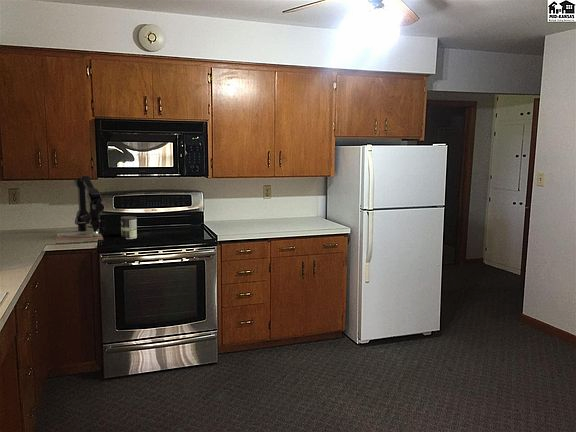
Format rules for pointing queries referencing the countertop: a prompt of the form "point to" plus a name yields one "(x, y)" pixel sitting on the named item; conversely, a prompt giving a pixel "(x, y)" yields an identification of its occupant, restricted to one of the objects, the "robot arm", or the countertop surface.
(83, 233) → the base
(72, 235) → the tong arm
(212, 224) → the countertop surface
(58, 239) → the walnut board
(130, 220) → the coffee can
